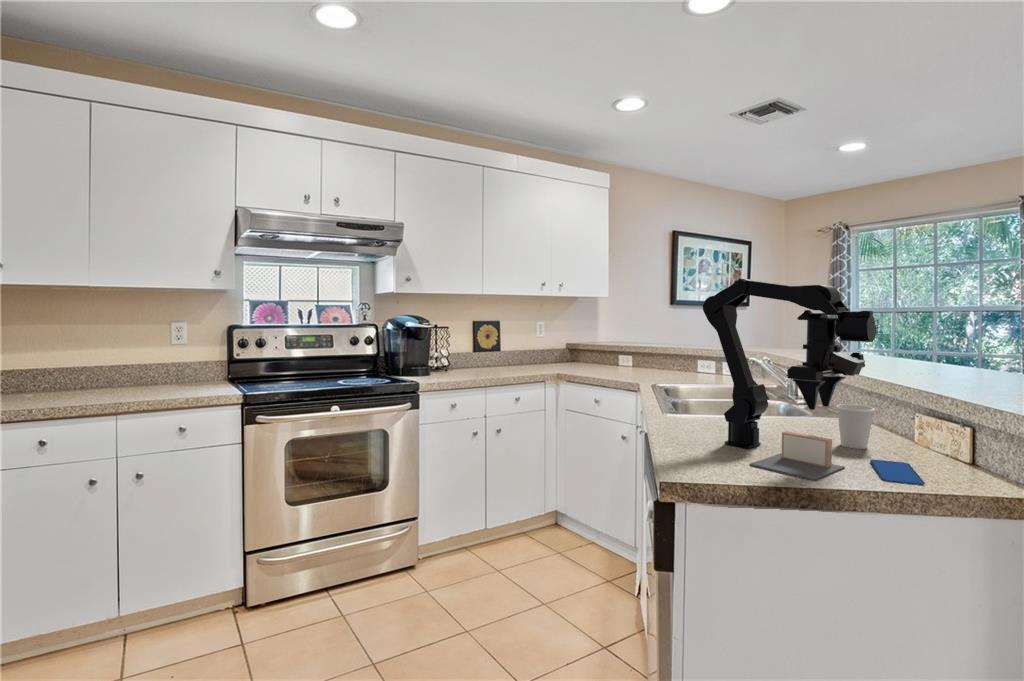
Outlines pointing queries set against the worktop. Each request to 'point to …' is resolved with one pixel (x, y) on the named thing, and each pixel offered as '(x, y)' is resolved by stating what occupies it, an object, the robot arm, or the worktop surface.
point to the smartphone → (896, 472)
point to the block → (807, 449)
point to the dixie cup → (854, 424)
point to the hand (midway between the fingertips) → (818, 408)
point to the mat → (796, 467)
